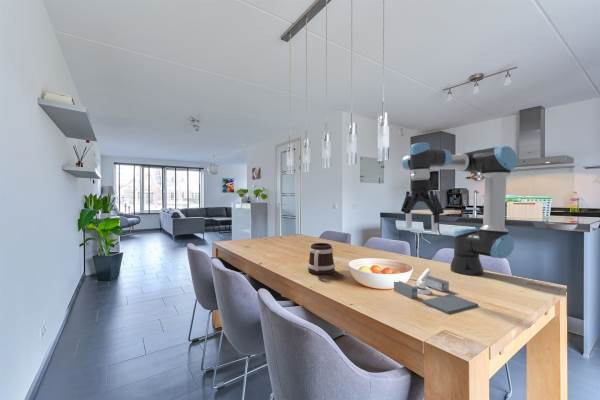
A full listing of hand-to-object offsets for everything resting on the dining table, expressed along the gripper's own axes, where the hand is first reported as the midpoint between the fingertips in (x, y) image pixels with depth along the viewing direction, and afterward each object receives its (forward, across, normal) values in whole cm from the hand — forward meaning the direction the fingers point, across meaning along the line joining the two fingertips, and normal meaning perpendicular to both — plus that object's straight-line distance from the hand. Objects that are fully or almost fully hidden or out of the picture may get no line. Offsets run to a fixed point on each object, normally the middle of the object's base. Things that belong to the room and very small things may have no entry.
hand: (421, 229), depth 115 cm
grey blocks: (+27, 0, 0) cm, 27 cm away
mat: (+27, +15, -2) cm, 30 cm away
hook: (+27, 0, 0) cm, 27 cm away
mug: (+27, -45, -26) cm, 58 cm away
